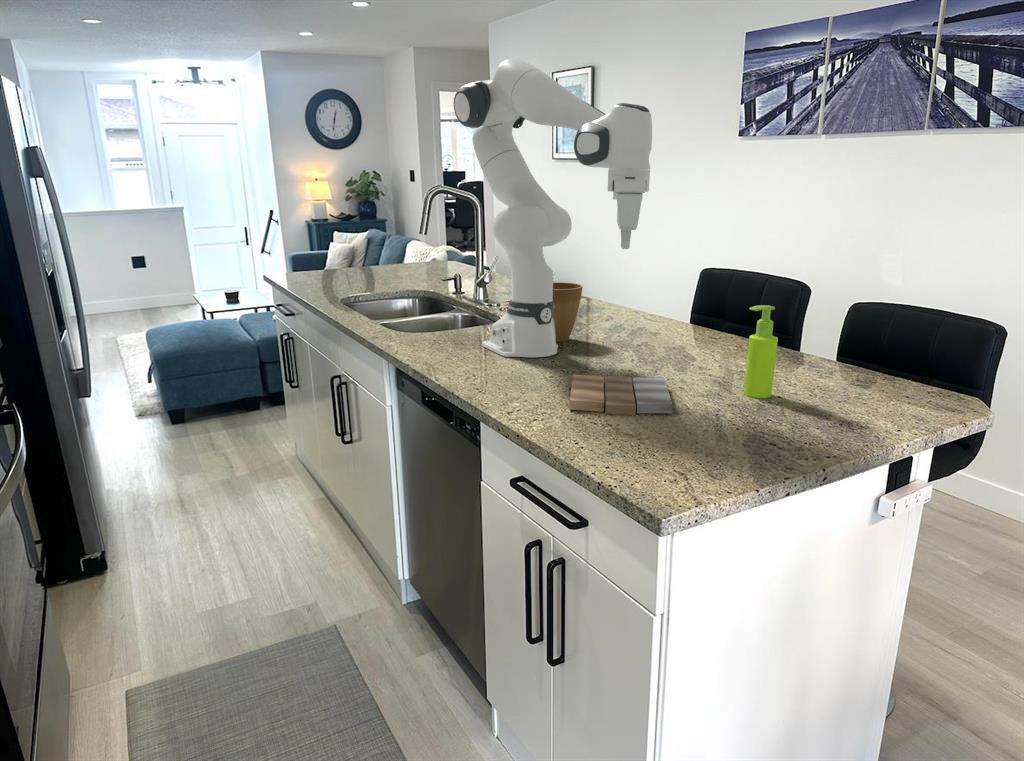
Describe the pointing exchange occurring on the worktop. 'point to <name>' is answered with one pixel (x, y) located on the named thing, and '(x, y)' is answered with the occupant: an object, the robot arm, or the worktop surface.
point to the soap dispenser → (761, 356)
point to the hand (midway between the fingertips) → (625, 248)
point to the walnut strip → (619, 396)
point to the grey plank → (651, 395)
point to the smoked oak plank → (587, 393)
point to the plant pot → (565, 308)
